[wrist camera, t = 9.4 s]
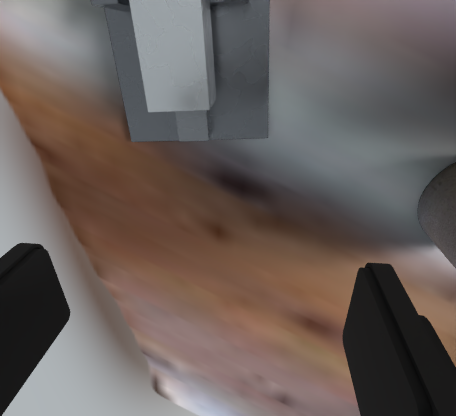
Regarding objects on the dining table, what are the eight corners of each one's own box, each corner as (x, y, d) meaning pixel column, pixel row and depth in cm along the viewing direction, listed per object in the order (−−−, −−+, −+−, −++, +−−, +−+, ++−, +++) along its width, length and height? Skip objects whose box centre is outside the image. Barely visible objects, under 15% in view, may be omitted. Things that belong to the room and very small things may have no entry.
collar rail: (271, -201, 18) (285, -401, 10) (267, 134, 27) (272, 175, 19) (70, -176, 19) (-68, -335, 11) (133, 138, 28) (84, 178, 20)
